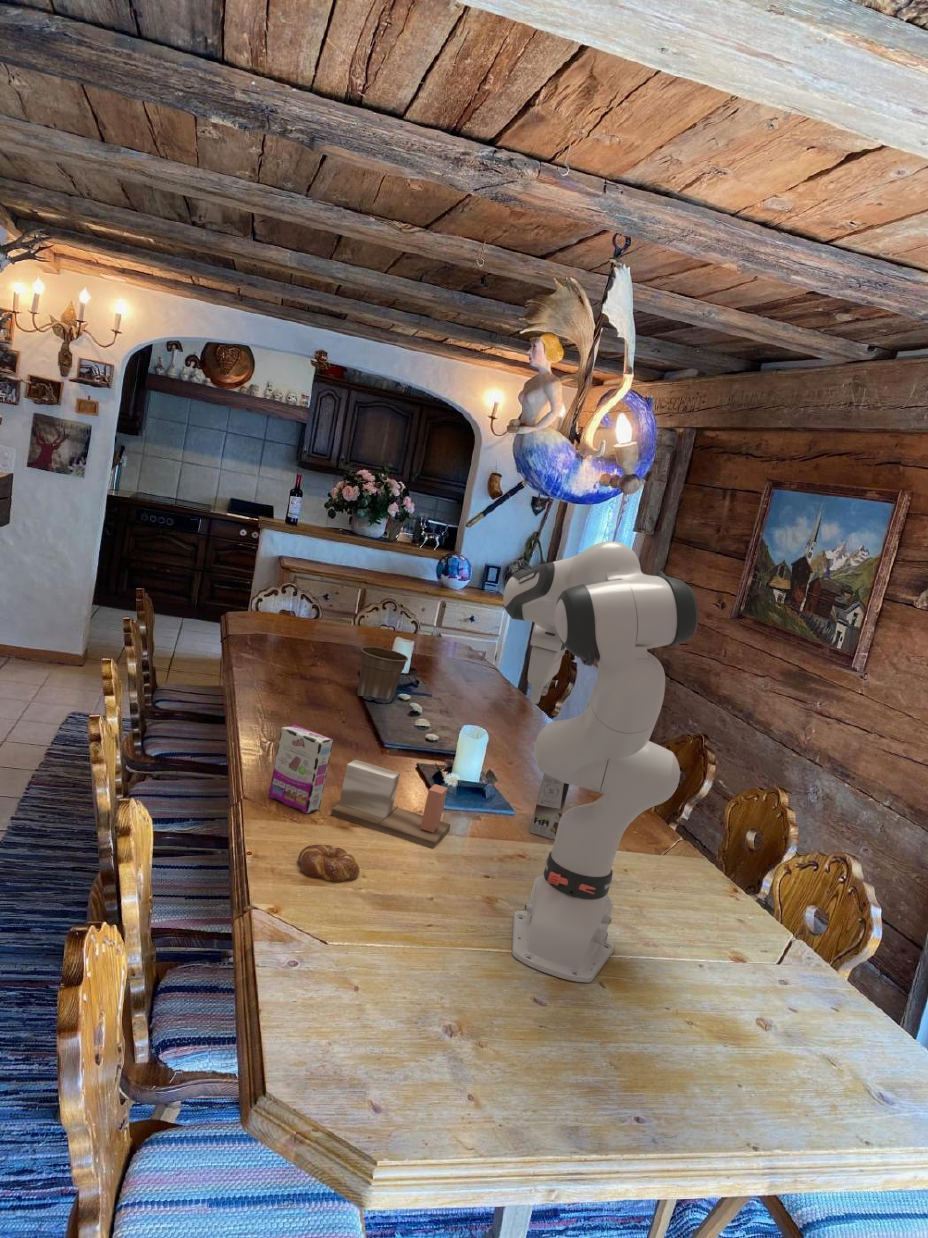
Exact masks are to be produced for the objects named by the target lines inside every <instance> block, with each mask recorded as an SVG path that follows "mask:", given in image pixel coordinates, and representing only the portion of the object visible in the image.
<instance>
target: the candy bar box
mask: <svg viewBox="0 0 928 1238" xmlns="http://www.w3.org/2000/svg"><path fill="white" fill-rule="evenodd" d="M333 742H334V739H333V738H330V737H328V736H324V735H323V734H320V733H317V732H315V731H311V730H309V729H306V728H304V727H302V726H298V725H296V724H292V725H289V726H284V727H281V728H280V734H279V740H278V745H277V749H276V750H277V751H276V755H275V761H274V765H273V772H272V777H271V782H270V786H269V787H270V788H269V793H268V798H270V799H272V800H274V801H277V802H279V803H281V804H284V805H285V806H288V807H290V808H292V809H295V810H296V811H299V812H302V813H303V814H310V813H313V812H316V811H318V810H320V809H321V804H322V800H323V799H322V798H323V795H324V789H325V783H326V778H327V773H328V770H329V763H330V758H331V755H332V754H331V753H332V748H333V744H334V743H333Z"/></svg>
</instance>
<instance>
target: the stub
mask: <svg viewBox="0 0 928 1238" xmlns="http://www.w3.org/2000/svg"><path fill="white" fill-rule="evenodd" d="M427 791H428V793H427V797H426V801H425V806H424V810H423V813H422V815H423V819H422V823H421V828H420V829H423V830H426V831H429V832H432V833H433V832H434V831H435V830H436V829H437V828H438V827H439V825H440V821H442V820H441V819H442V815H443V810H444V807H445V806H444V805H445V801H446V796H447V792H448V787H445V786H442V785H439V784H436V783H435V784H433V785H432V786H431V787H430V788H429V789H428V790H427Z"/></svg>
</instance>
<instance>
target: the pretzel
mask: <svg viewBox="0 0 928 1238" xmlns="http://www.w3.org/2000/svg"><path fill="white" fill-rule="evenodd" d="M297 859H298V860H297V861H298V864H299V866H301V870H302V872H303V873H304V874H305V875H306V876H308V877H310V878H315V879H324V880H326V881H334V882H343V881H346V880H349V881H351V880H355V879H356V878H357V877H358V876H359V874H360V871H361V870H360V867H359V864H358V863H357V862H356V860H355V857H354V856H353V855H351V854H349V853H348V852H347V851H346V850H345V849H343V848H340V847H333V846H332V845H329V844H311V845H308V846H305V847H304V848H303V849H302V850H301V851H300V852H299V854H298V856H297Z"/></svg>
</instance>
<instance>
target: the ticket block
mask: <svg viewBox="0 0 928 1238" xmlns="http://www.w3.org/2000/svg"><path fill="white" fill-rule="evenodd" d="M400 775H401V773H400V772H397V771H394V770H391V769H387V768H385V767H382V766H381V767H380V766H377V765H375V764H372V763H368V762H365V761H362V760H361V761H360V760H358V759H353V760H352V761H350V762H349V763H347V764H346V769H345V773H344V779H343V783H342V788H341V792H340V798H339V802H338V804H337V805H336V806H335V805H334V807H333V808H332V809H331V813H330V816H332V817H335V818H338V819H341V820H343V821H347V822H351V823H353V824H357V825H359V826H362V827H365V828H369V829H371V830H374V831H377V832H381V833H383V834H384V833H385V834H387V833H388V834H387V835H390V836H393V837H396V838H400V839H402V840H405V841H409V842H411V843H415V844H417V845H420V846H423V847H427V848H430V849H433V850H434V849H435V848H436V847H437V846H438V845H439V843H440V842H441V841H442V839H443V838H444V837H445V836H446V835H447V834H448V833H449V832H450V830H451V823H448V822H444V821H442V820H440V825H439V827H438V828H437V829H436V830H435V831H434V832H433V833H432V832H429V831H426V830H423V829H420V828H421V823H422V819H423V814H419V813H416V812H414V811H410V810H407V809H403V808H400V807H398V806H394V803H395V798H396V794H397V790H398V786H399V785H398V784H399V781H400V780H399V779H400Z"/></svg>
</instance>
